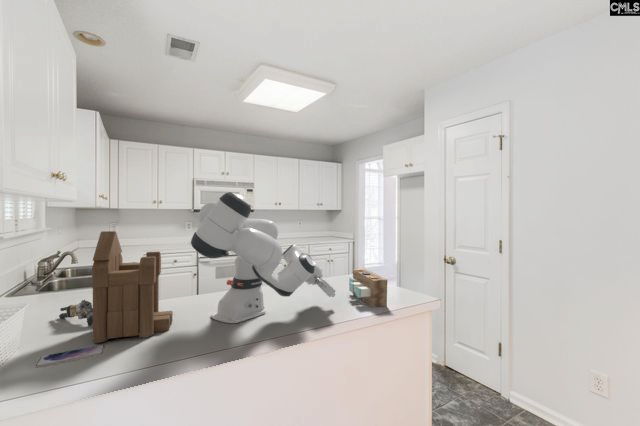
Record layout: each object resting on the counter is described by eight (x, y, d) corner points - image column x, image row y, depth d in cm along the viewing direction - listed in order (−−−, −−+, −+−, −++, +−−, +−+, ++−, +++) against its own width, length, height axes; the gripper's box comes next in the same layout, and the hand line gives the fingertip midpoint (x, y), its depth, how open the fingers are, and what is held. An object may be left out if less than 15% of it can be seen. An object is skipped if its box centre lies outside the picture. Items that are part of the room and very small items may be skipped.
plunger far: (352, 288, 152) (352, 279, 152) (349, 285, 156) (349, 277, 156) (368, 287, 154) (368, 278, 154) (364, 284, 159) (365, 276, 158)
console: (372, 307, 136) (373, 279, 135) (352, 291, 159) (353, 268, 158) (386, 306, 138) (387, 278, 137) (364, 291, 161) (365, 267, 160)
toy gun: (93, 327, 107) (88, 299, 107) (59, 332, 115) (55, 306, 115) (103, 323, 110) (98, 296, 111) (69, 329, 118) (65, 303, 118)
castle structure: (168, 336, 102) (168, 233, 101) (90, 345, 95) (90, 234, 94) (176, 309, 128) (176, 226, 127) (115, 315, 120) (115, 227, 119)
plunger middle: (352, 292, 144) (352, 284, 143) (349, 290, 148) (349, 281, 147) (369, 291, 146) (369, 283, 146) (365, 289, 150) (366, 281, 150)
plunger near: (359, 298, 136) (359, 288, 136) (355, 295, 140) (355, 286, 140) (377, 296, 138) (377, 287, 138) (373, 294, 142) (373, 285, 142)
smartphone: (41, 355, 87) (104, 344, 95) (41, 358, 87) (104, 346, 95) (33, 366, 81) (102, 353, 89) (33, 369, 81) (102, 356, 89)
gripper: (324, 274, 122) (346, 296, 125) (311, 264, 142) (331, 284, 145) (313, 285, 121) (336, 308, 124) (302, 274, 141) (322, 293, 144)
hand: (333, 295), depth 135 cm, fingers closed
